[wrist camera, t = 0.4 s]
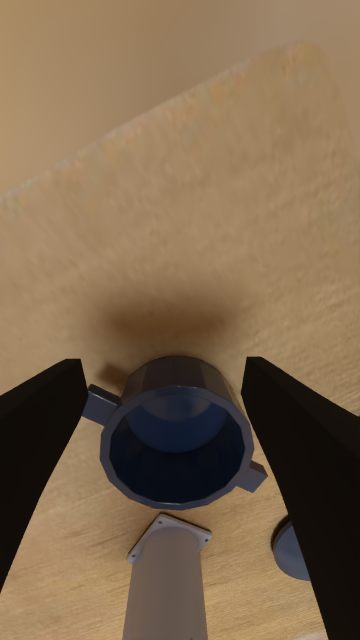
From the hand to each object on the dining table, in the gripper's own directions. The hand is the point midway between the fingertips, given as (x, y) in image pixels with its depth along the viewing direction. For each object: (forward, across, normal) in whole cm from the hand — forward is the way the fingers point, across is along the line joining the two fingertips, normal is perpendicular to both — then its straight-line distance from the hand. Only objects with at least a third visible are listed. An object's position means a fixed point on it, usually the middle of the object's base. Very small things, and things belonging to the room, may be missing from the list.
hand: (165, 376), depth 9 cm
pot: (+9, -1, +12) cm, 14 cm away
